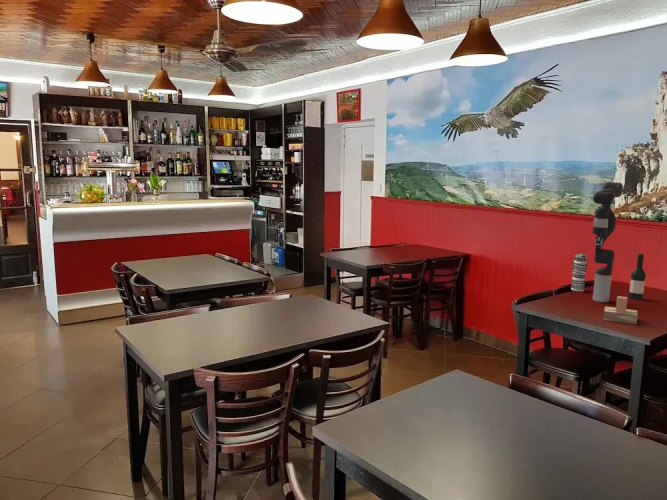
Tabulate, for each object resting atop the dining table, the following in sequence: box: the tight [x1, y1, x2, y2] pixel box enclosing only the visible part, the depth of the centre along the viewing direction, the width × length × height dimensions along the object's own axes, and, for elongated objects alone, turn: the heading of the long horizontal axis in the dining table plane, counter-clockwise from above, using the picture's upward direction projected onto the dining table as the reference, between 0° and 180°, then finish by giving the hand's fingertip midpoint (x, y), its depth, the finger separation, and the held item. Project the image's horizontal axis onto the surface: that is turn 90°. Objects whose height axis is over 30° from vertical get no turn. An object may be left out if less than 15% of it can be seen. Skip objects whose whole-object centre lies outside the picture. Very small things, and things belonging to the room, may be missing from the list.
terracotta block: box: [615, 295, 629, 313], centre depth 286 cm, size 5×5×8 cm
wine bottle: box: [628, 252, 647, 301], centre depth 335 cm, size 8×8×30 cm
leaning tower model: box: [570, 253, 588, 292], centre depth 357 cm, size 9×9×25 cm
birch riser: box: [603, 306, 639, 325], centre depth 289 cm, size 12×16×5 cm
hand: (597, 253), depth 302 cm, fingers open, 8 cm apart
